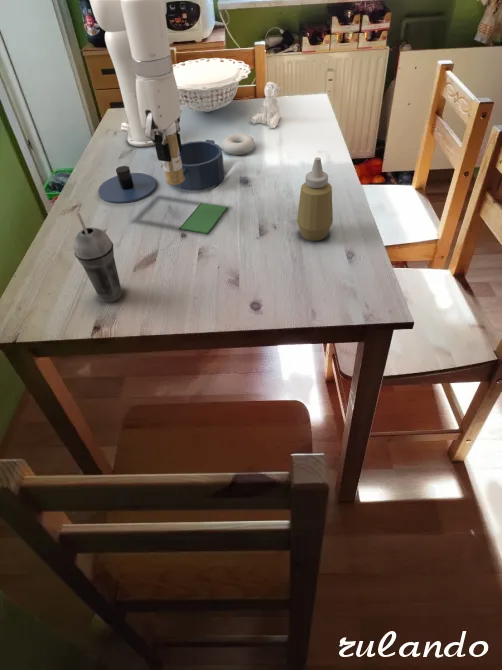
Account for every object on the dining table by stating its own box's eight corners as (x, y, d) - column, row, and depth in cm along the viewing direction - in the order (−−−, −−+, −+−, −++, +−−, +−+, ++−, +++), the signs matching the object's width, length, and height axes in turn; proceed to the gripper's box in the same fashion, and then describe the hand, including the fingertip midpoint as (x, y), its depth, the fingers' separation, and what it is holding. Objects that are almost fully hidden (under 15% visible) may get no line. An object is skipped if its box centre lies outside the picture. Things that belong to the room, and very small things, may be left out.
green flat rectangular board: (134, 221, 115) (134, 219, 114) (158, 197, 122) (158, 196, 122) (207, 234, 109) (207, 232, 109) (227, 208, 116) (227, 206, 116)
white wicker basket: (263, 97, 169) (262, 58, 159) (238, 133, 148) (235, 90, 139) (182, 94, 176) (176, 56, 167) (147, 128, 155) (139, 87, 146)
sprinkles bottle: (186, 184, 108) (176, 125, 98) (166, 187, 107) (154, 128, 98) (183, 175, 111) (173, 117, 101) (164, 178, 110) (153, 120, 101)
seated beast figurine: (250, 123, 153) (248, 84, 144) (265, 114, 157) (264, 76, 149) (273, 129, 149) (272, 89, 140) (288, 119, 153) (288, 80, 144)
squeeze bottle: (290, 229, 108) (291, 154, 95) (321, 221, 110) (326, 146, 97) (305, 248, 103) (308, 171, 90) (338, 238, 104) (345, 162, 92)
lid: (87, 200, 123) (80, 179, 119) (119, 173, 133) (113, 152, 129) (138, 209, 119) (132, 187, 114) (167, 180, 128) (162, 159, 124)
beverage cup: (130, 282, 98) (103, 197, 83) (125, 305, 93) (95, 218, 78) (96, 284, 98) (64, 199, 84) (89, 308, 93) (53, 221, 78)
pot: (157, 193, 124) (152, 166, 119) (190, 160, 137) (187, 134, 131) (206, 200, 120) (203, 173, 114) (236, 165, 132) (234, 140, 127)
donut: (221, 158, 137) (255, 156, 136) (220, 146, 134) (254, 144, 133) (223, 143, 143) (255, 141, 143) (222, 132, 141) (254, 130, 140)
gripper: (157, 52, 98) (173, 138, 111) (114, 79, 87) (136, 170, 100) (189, 54, 96) (201, 141, 109) (148, 81, 85) (167, 174, 98)
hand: (170, 154), depth 105 cm, fingers closed on sprinkles bottle, 4 cm apart
